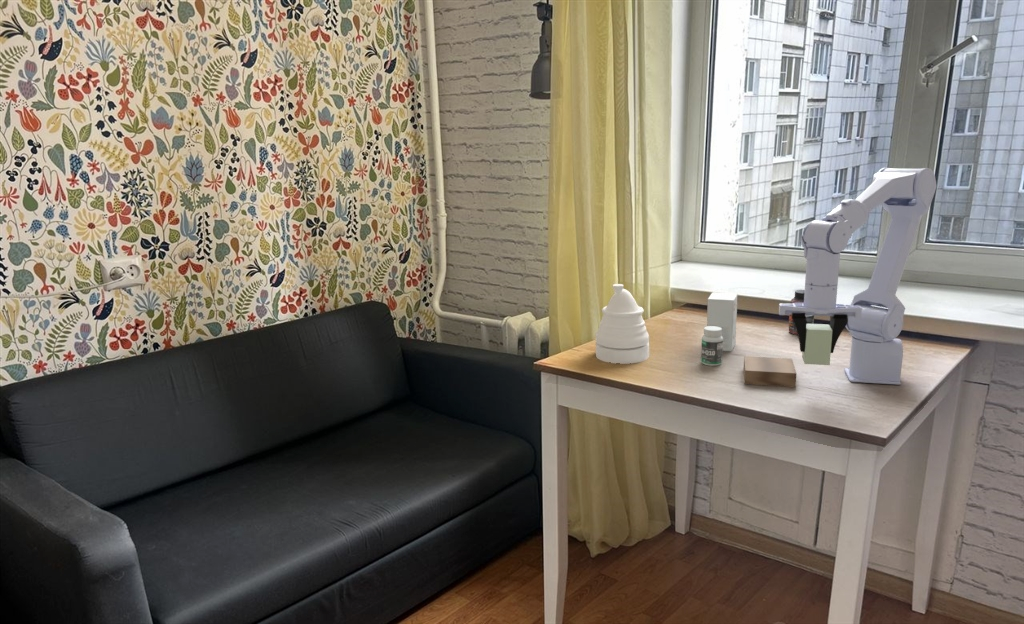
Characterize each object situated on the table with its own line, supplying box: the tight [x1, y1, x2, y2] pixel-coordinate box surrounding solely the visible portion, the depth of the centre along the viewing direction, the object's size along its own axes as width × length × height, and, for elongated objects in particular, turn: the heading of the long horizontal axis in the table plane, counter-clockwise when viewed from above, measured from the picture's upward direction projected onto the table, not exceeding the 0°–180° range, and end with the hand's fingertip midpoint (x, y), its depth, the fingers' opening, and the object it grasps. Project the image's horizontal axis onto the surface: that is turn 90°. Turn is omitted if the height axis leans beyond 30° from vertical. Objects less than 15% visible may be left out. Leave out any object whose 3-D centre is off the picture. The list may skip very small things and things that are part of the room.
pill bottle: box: [700, 325, 724, 367], centre depth 155 cm, size 5×5×8 cm
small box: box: [706, 291, 738, 352], centre depth 167 cm, size 8×6×13 cm
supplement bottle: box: [788, 289, 815, 336], centre depth 176 cm, size 6×6×11 cm
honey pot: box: [595, 283, 650, 365], centre depth 162 cm, size 13×13×18 cm
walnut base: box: [743, 355, 797, 388], centre depth 145 cm, size 10×10×3 cm
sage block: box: [801, 323, 832, 366], centre depth 132 cm, size 4×4×7 cm
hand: (816, 350), depth 132 cm, fingers closed on sage block, 4 cm apart
